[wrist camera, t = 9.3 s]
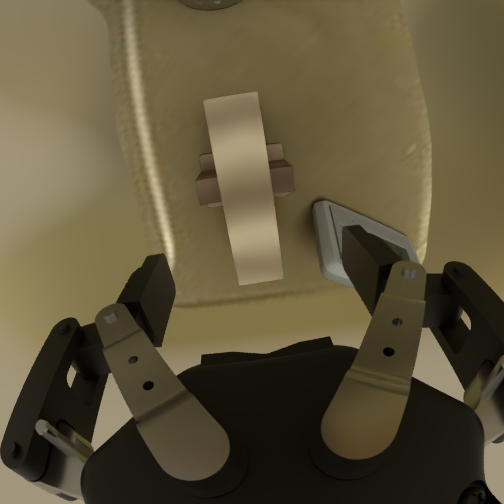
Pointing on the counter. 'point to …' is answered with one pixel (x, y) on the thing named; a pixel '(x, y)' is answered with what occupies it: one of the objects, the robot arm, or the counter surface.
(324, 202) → the digital clock
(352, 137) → the counter surface
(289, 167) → the walnut ridge
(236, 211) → the beige long bar
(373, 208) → the counter surface
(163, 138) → the counter surface
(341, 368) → the robot arm
